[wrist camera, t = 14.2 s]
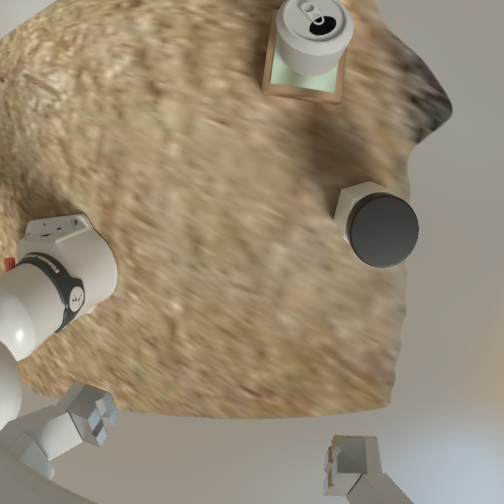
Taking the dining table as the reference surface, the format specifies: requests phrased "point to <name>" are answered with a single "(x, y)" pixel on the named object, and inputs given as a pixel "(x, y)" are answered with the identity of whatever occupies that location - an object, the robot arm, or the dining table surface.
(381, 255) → the jar
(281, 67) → the picture frame
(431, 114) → the dining table surface
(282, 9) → the can
